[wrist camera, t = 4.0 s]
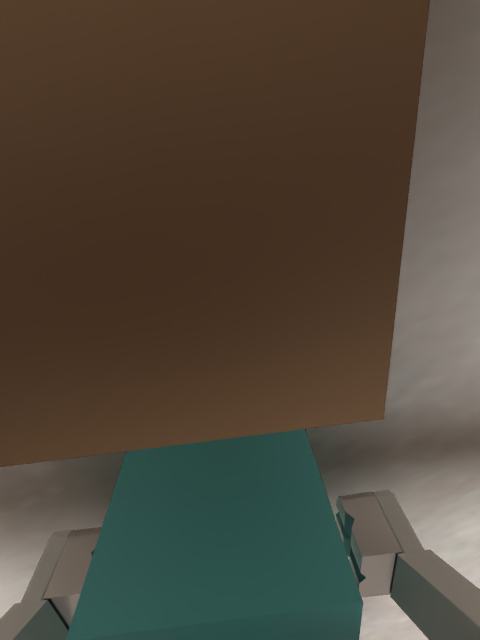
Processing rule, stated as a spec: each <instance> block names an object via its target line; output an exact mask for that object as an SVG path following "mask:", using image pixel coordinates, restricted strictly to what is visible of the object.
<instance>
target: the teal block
mask: <svg viewBox="0 0 480 640" xmlns="http://www.w3.org/2000/svg"><path fill="white" fill-rule="evenodd" d="M362 607H363V601H362V598H361V595H360V592H359V589H358V586H357V583H356V580H355V577H354V574H353V571H352V568H351V565H350V562H349V559H348V556H347V553H346V550H345V547H344V544H343V541H342V538H341V535H340V532H339V529H338V526H337V523H336V520H335V517H334V514H333V511H332V508H331V505H330V502H329V499H328V496H327V493H326V490H325V487H324V484H323V481H322V478H321V475H320V472H319V469H318V466H317V463H316V460H315V457H314V454H313V452H312V449H311V446H310V443H309V440H308V437H307V434H306V431H305V429H300V430H292V431H285V432H277V433H269V434H261V435H253V436H245V437H237V438H229V439H221V440H213V441H205V442H197V443H189V444H181V445H173V446H165V447H157V448H149V449H141V450H133V451H126V454H125V457H124V460H123V463H122V466H121V469H120V472H119V476H118V479H117V482H116V485H115V488H114V491H113V494H112V497H111V500H110V503H109V507H108V510H107V513H106V516H105V519H104V522H103V525H102V528H101V531H100V535H99V538H98V541H97V544H96V547H95V550H94V553H93V556H92V559H91V562H90V566H89V569H88V572H87V575H86V578H85V581H84V584H83V587H82V590H81V594H80V597H79V600H78V603H77V606H76V609H75V612H74V615H73V618H72V622H71V625H70V628H69V631H68V634H67V637H66V640H359V634H360V625H361V616H362Z"/></svg>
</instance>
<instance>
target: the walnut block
mask: <svg viewBox="0 0 480 640" xmlns="http://www.w3.org/2000/svg"><path fill="white" fill-rule="evenodd" d="M429 3H430V0H0V467H5V466H13V465H21V464H29V463H37V462H45V461H53V460H61V459H69V458H77V457H85V456H93V455H101V454H109V453H117V452H125V451H133V450H141V449H149V448H157V447H165V446H173V445H181V444H189V443H197V442H205V441H213V440H221V439H229V438H237V437H245V436H253V435H261V434H269V433H277V432H285V431H292V430H300V429H308V428H316V427H324V426H332V425H340V424H348V423H356V422H364V421H372V420H380V419H384V411H385V402H386V393H387V384H388V375H389V366H390V356H391V347H392V338H393V329H394V320H395V311H396V302H397V293H398V284H399V275H400V266H401V257H402V248H403V239H404V230H405V221H406V212H407V202H408V193H409V184H410V175H411V166H412V157H413V148H414V139H415V130H416V121H417V112H418V103H419V94H420V85H421V76H422V67H423V57H424V48H425V39H426V30H427V21H428V12H429Z"/></svg>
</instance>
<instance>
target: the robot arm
mask: <svg viewBox="0 0 480 640" xmlns="http://www.w3.org/2000/svg"><path fill="white" fill-rule="evenodd" d="M336 505H337V508H338V511H339V512H338V513H337V514H336V523H337V526H338V529H339V532H340V535H341V538H342V541H343V544H344V547H345V550H346V553H347V556H348V557H349V562H350V565H351V568H352V571H353V574H354V577H355V580H356V583H357V586H358V589H359V592H360V595H361V597H368V596H378V595H388V594H391V595H390V597H391V598H392V599H393V600H394V601H395V602H396V603H397V604H398V605H399V607H400V608H401V609H402V610H403V611H404V612H405V613H406V614H407V616H408V617H409V618H410V619H411V620H412V621H413V622H414V623H415V624H416V626H417V627H418V628H419V629H420V630H421V631H422V632H423V633H424V634H425V636H426V637H427V638H428V639H429V640H480V589H479V588H477V587H476V586H475V585H474V584H472V583H471V582H470V581H469V580H467V579H466V578H465V577H464V576H462V575H461V574H460V573H459V572H457V571H456V570H455V569H454V568H452V567H451V566H450V565H449V564H447V563H446V562H445V561H444V560H442V559H441V558H440V557H439V556H437V555H436V554H435V553H434V552H432V551H431V550H424V548H423V547H422V545H421V543H420V541H419V539H418V537H417V536H416V534H415V532H414V530H413V528H412V527H411V525H410V523H409V521H408V519H407V517H406V516H405V514H404V512H403V510H402V508H401V506H400V505H399V503H398V501H397V499H396V497H395V495H394V494H393V493H392V492H391V491H390V490H383V491H376V492H365V493H358V494H352V495H345V496H338V497H337V502H336ZM101 528H102V527H98V528H89V529H81V530H70V531H63V532H55V533H54V534H53V536H52V537H51V538H50V539H49V541H48V543H47V546H46V548H45V550H44V552H43V554H42V557H41V559H40V561H39V563H38V565H37V568H36V570H35V572H34V574H33V576H32V579H31V581H30V583H29V585H28V587H27V590H26V592H25V594H24V596H23V598H22V601H21V603H16V604H14V605H13V606H12V607H11V608H10V609H9V610H8V611H7V612H6V613H5V615H4V616H3V617H2V618H1V619H0V640H66V637H67V634H68V631H69V628H70V625H71V622H72V618H73V615H74V612H75V609H76V606H77V603H78V600H79V597H80V594H81V590H82V587H83V584H84V581H85V578H86V575H87V572H88V569H89V566H90V562H91V559H92V556H93V553H94V550H95V547H96V544H97V541H98V538H99V535H100V531H101Z"/></svg>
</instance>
